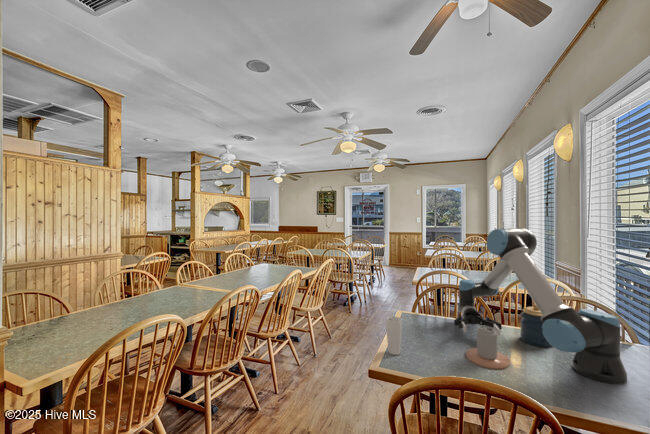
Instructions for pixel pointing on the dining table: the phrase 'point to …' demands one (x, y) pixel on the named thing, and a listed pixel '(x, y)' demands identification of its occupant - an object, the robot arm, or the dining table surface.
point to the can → (487, 342)
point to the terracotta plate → (497, 363)
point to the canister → (533, 327)
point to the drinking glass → (394, 334)
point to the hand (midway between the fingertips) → (481, 331)
